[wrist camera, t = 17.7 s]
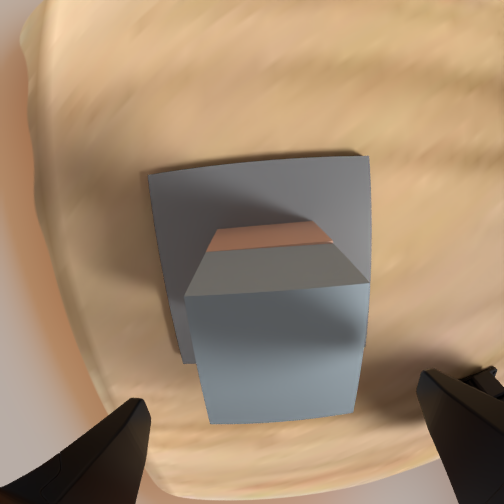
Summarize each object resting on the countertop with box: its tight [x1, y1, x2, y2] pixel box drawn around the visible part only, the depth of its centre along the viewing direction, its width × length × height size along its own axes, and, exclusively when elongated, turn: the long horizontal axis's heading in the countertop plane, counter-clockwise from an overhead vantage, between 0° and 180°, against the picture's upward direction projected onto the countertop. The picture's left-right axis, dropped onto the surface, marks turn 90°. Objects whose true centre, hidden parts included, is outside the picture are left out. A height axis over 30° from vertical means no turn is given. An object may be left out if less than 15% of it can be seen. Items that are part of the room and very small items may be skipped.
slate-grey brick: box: [184, 243, 370, 424], centre depth 13 cm, size 6×6×5 cm
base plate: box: [148, 156, 372, 364], centre depth 20 cm, size 14×14×1 cm
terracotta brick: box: [206, 221, 333, 252], centre depth 18 cm, size 6×6×5 cm
